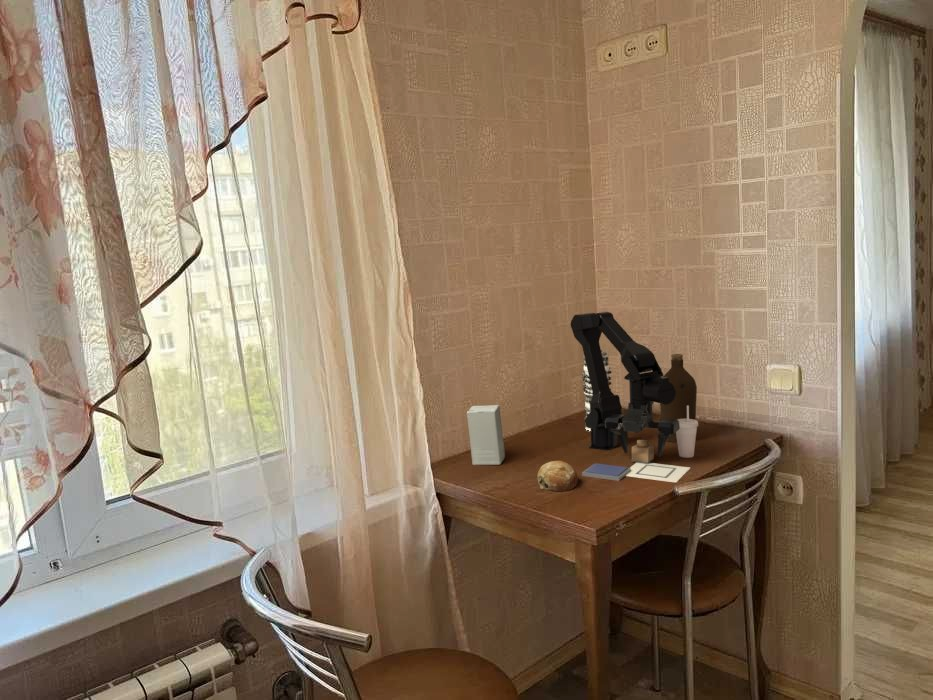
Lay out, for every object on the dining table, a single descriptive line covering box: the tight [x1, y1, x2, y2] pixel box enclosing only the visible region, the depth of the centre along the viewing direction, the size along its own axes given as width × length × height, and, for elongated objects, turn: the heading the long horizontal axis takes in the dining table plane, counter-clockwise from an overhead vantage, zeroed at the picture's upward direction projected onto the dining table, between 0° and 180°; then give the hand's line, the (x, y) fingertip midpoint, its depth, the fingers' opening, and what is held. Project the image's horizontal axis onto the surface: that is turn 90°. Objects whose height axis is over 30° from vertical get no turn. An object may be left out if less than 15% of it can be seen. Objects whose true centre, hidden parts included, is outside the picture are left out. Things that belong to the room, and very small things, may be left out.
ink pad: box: [581, 463, 631, 482], centre depth 185 cm, size 10×8×1 cm
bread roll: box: [536, 460, 579, 492], centre depth 179 cm, size 10×10×8 cm
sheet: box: [624, 462, 691, 483], centre depth 184 cm, size 14×12×1 cm
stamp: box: [631, 439, 655, 464], centre depth 192 cm, size 4×4×6 cm
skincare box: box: [466, 404, 506, 466], centre depth 200 cm, size 8×7×16 cm
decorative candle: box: [581, 349, 612, 432], centre depth 226 cm, size 9×9×25 cm
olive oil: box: [659, 353, 698, 443], centre depth 210 cm, size 11×11×25 cm
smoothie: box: [676, 406, 699, 459], centre depth 194 cm, size 6×6×14 cm
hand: (642, 454), depth 192 cm, fingers open, 9 cm apart
